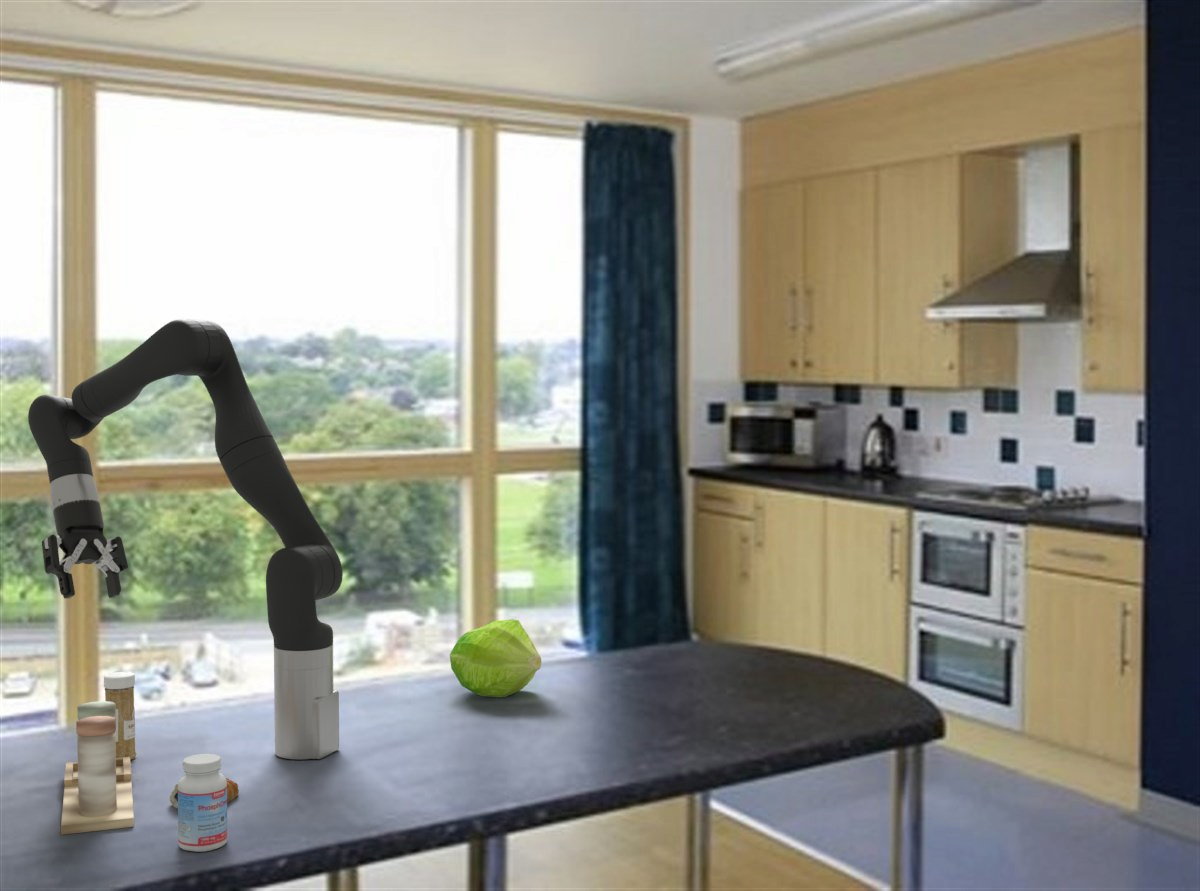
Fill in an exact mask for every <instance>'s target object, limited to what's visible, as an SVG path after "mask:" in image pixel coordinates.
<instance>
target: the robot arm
mask: <svg viewBox="0 0 1200 891" xmlns="http://www.w3.org/2000/svg"><path fill="white" fill-rule="evenodd" d="M238 359H239V358H238V356H237V353H236V350H235V348H234V346H233V343H232V341H231V339H230V337H229V335H228V334H227V332H226V331H225V329H224V328H223V327H222V326H221V325H220V324H219V323H216V322H215V321H212V320H211V321H210V320H205V319H189V318H178V319H174V320H171V321H169V322H168V323H167V322H166V324H164V325H163V326H162V327H160V328H159V329H157V331H155V332H154V333H153V334H152V335H150V336H149V337H148V338H147V339H146V340H145V341H143V343H141V344H140V345H138V346H137V347H136V348H135V349H134V350H133V351H131V352H130V353H129V354H127V355H126V356H124V357H123V358H122V359H120V360H119V361H117V362H116V363H114V364H113V365H111V366H109V367H107V368H105V369H104V370H102V371H100V372H98V373H96V374H94V375H92V376H91V377H89V378H87V379H85V380H84V381H82V382H80V383H79V384H77V385H76V386H75V387H74V389H73V391H72V393H71V398H69V397H64V396H58V395H53V394H42V395H39V396H38V397H36V398H35V399H33V400H32V402H31V404H30V406H29V409H28V414H27V420H28V421H27V422H28V425H29V429H30V432H31V434H32V437H33V439H34V440H35V443H36V446H37V447H38V449H39V452H40V454H41V455H42V458H43V459H44V460H45V464H46V469H47V475H48V480H49V485H50V486H49V487H50V502H51V508H52V513H53V514H52V515H53V519H54V524H55V525H54V526H55V530H56V535H57V536H58V537H57V536H56V535H55V534H51V535H49V536H48V537H46V538H44V539H43V540H42V541H41V546H42V547H41V549H42V555H43V557H42V558H43V566H44V572H45V574H47V575H49V574H51V575H55V576H56V577H57V580H58V586H59V592H60V594H61V596H63V598H64V599H67V600H68V599H70V598H72V597H75V595H76V591H75V590H76V589H75V586H74V580H73V573H70V572H71V570H72V569H73V567H74V565H81V564H85V565H93V566H94V567H95V568H96V569H98V570H99V569H100V571H101V572H102V573H103V574H104V575H105V576H106V577H105V584H106V590H107V596H108V597H109V599H113V598H117V597H118V596H119V595H120V593H121V592H122V587H121V581H120V574H121V573H122V572H124V571H126V570H127V569H128V568H129V564H128V561H127V556H126V551H125V548H124V543H123V540H122V537H121V536H116V537H113V538H106V537H105V534H104V527H105V524H104V518H103V514H102V507H101V501H100V497H99V492H98V487H97V484H96V481H95V478H94V472H93V468H92V462H91V457H90V453H89V451H88V450H87V449H86V448H85V447H84V446H82V445H80V444H78V443H75V442H74V441H73V440H76V439H81V438H83V437H86V436H88V435H89V434H90V433H91V432H93V431H94V429H95V428H96V427H97V426H98V425H99V424H101V422H102V421H103V420H104V418H106V417H108V416H111V415H112V414H114V413H115V412H117V411H119V410H122V409H124V408H125V407H127V406H128V405H130V404H131V403H132V402H133V401H135V400H136V399H137V398H138V396H139V395H140V394H141V392H142V391H143V389H144V388H145V387H147V386H148V385H150V384H152V383H153V382H155V381H158V380H161V379H165V378H167V377H171V376H177V375H178V376H184V377H185V376H187V377H188V376H190V377H191V376H193V377H194V376H195V377H196V376H198V377H199V378H200V380H201V381H202V383H203V385H204V386H205V388H206V391H207V392H208V394H209V397H210V399H211V401H212V403H213V407H214V412H215V424H214V425H215V428H214V448H215V452H216V456H217V457H218V460H219V462H220V464H221V466H222V469H223V470H224V473H225V475H226V477H227V479H228V481H229V482H230V484H231V486H232V487H233V489H234V490H235V492H236V493H237V494H238V495H239V496H240V497H241V498H242V499H243V500H244V501H245V502H246V503H248V505H249V506H251V507H252V508H253V509H254V510H255V511H256V512H257V513H258V514H260V515H261V516H262V517H263V518H264V519H265V520H266V521H267V522H268V523H269V524H270V525H271V526H272V528H273V529H274V530H275V531H276V534H277V535H278V536H279V538H280V540H281V542H282V544H283V546H284V547H282V548H280V549H278V550H277V551H275V552H274V553H273V554H272V555H271V557H270V559H269V561H268V564H267V567H266V574H265V590H266V592H265V593H266V605H267V606H266V607H267V609H266V610H267V621H268V626H269V630H270V633H271V634H272V637H273V692H274V693H273V694H274V698H273V701H274V706H273V707H274V710H273V711H274V754H275V756H277V757H279V758H283V759H288V760H310V759H313V760H316V759H317V760H320V759H322V758H325V757H327V756H328V755H330V754H333V753H334V752H336V751H338V750H340V693H339V691H338V690H334V630H333V627H332V626H331V625H329V624H328V623H326V622H322V621H320V620H319V618H318V615H317V605H316V604H317V601H318V600H323V599H326V598H329V597H331V596H333V595H334V594H336V593H337V591H339V589H340V588H341V585H342V582H343V575H344V574H343V571H344V570H343V566H342V563H341V559H340V557H339V555H338V553H337V550H336V549H335V546H334V545H333V544H332V542H331V541H330V539H329V538H328V536H327V534H326V533H325V532H324V530H323V528H322V527H321V525H320V524H319V522H318V520H317V519H316V518H315V516H314V515H313V513H312V511H311V509H310V507H309V506H308V504H307V502H306V500H305V498H304V497H303V495H302V492H301V491H300V489H299V487H298V485H297V483H296V481H295V479H294V477H293V476H292V474H291V472H290V470H289V467H288V465H287V463H286V461H285V458H284V457H283V454H282V453H281V449H280V448H279V446H278V444H277V443H276V441H275V437H274V436H273V434H272V433H271V431H270V429H269V427H268V425H267V423H266V421H265V419H264V418H263V415H262V413H261V411H260V409H259V407H258V404H257V402H256V401H255V398H254V397H253V395H252V391H251V390H250V388H249V385H248V383H247V380H246V377H245V375H244V373H243V370H242V369H243V368H242V367H241V364H240V361H239V360H238ZM59 549H60V550H62V552H63V556H62V557H61V559H60V557H59ZM101 558H102V559H101Z"/></svg>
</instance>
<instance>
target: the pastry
mask: <svg viewBox="0 0 1200 891" xmlns="http://www.w3.org/2000/svg"><path fill="white" fill-rule="evenodd" d="M225 778H226V781H227V803H230V802H231V801H233V800H235V799H236V798H237V796H238V795H239V790H240V789H239V784H238V783H237V782H236V781H234V780H232V779H230V778H227V777H225ZM169 802H170V803H171V805H172V807H173V808H174V809H178V783H177V784H175V787H174V789H173V790H172V791H171V794H170V796H169Z"/></svg>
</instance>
